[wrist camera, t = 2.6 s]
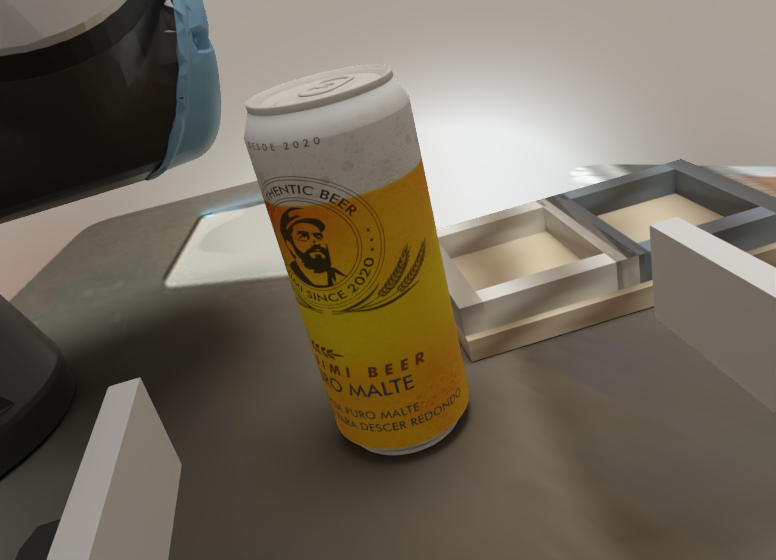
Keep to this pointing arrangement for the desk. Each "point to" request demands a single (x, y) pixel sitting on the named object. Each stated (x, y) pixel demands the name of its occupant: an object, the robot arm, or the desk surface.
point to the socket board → (586, 252)
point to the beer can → (362, 252)
